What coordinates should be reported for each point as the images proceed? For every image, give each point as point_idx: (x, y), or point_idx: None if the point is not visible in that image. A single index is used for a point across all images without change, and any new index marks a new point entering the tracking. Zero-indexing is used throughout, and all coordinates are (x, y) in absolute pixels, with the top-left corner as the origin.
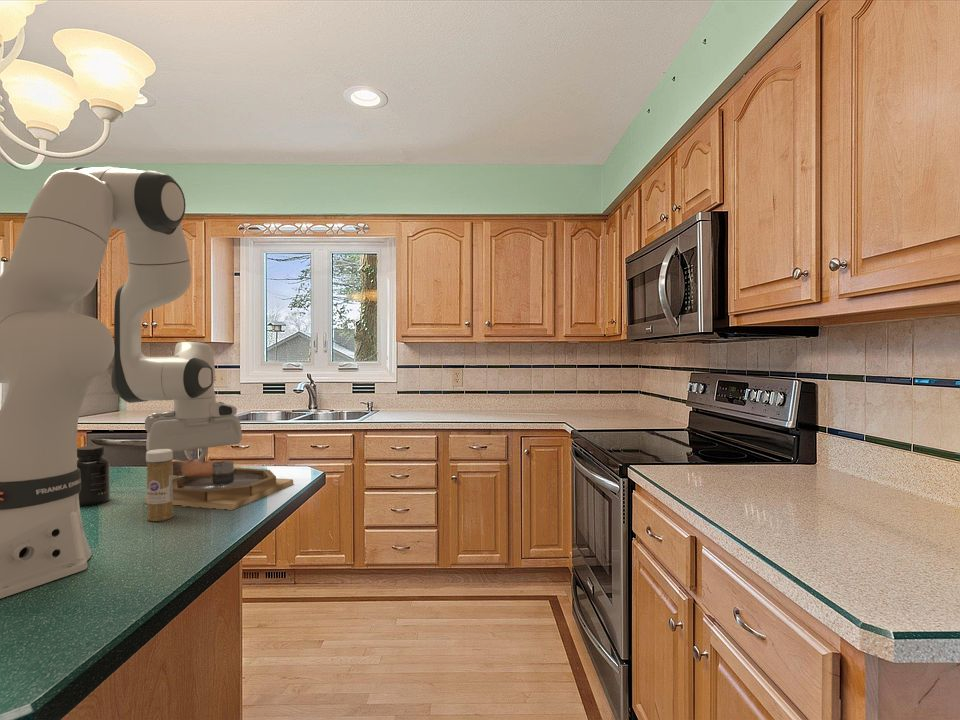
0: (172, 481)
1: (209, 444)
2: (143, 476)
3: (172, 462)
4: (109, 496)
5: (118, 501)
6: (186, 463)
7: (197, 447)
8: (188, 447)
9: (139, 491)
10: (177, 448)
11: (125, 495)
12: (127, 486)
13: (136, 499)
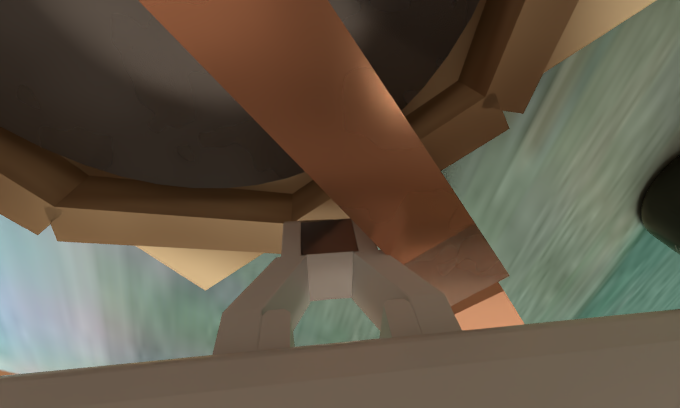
0: (515, 85)
1: (172, 396)
2: None
3: (484, 293)
4: (675, 176)
5: (656, 129)
6: (448, 185)
7: (356, 351)
8: (482, 352)
9: (511, 244)
10: (622, 341)
11: (575, 214)
12: None
13: (599, 115)
